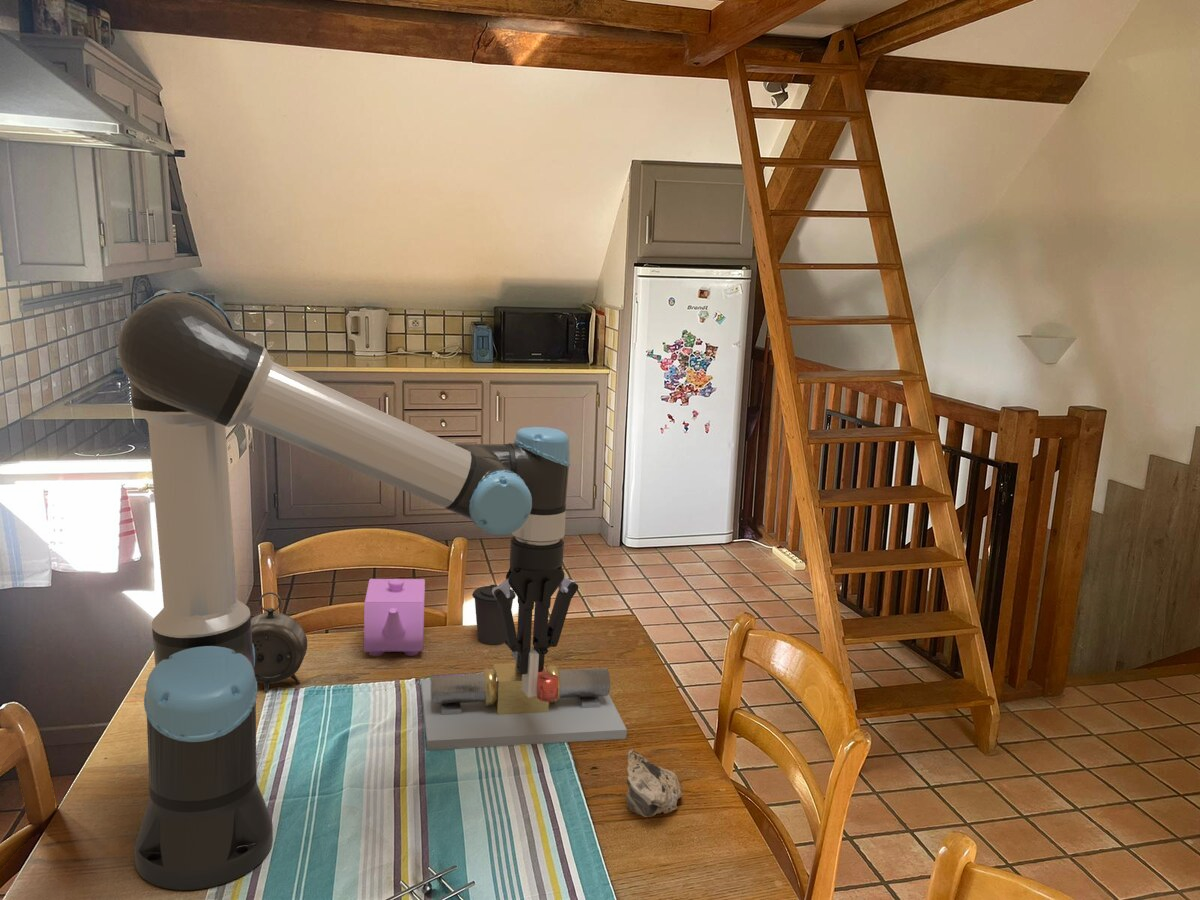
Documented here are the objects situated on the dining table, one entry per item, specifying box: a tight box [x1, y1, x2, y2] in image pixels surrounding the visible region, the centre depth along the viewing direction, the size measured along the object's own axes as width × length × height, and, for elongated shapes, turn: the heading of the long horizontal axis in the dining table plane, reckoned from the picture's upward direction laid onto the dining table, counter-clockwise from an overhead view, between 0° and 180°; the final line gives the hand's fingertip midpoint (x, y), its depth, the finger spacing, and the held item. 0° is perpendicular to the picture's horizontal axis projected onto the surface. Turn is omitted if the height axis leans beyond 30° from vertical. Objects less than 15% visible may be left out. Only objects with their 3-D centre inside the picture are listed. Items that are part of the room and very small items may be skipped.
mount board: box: [420, 678, 628, 751], centre depth 152 cm, size 20×30×2 cm, turn 103°
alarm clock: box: [251, 591, 308, 693], centre depth 154 cm, size 11×5×16 cm, turn 96°
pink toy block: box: [363, 578, 426, 657], centre depth 171 cm, size 20×10×12 cm, turn 9°
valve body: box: [430, 662, 611, 715], centre depth 151 cm, size 6×28×6 cm, turn 103°
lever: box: [511, 651, 559, 702], centre depth 144 cm, size 16×3×5 cm, turn 21°
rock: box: [625, 748, 684, 818], centre depth 129 cm, size 9×7×10 cm
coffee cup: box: [471, 584, 517, 646], centre depth 178 cm, size 8×8×10 cm
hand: (528, 692), depth 139 cm, fingers closed
